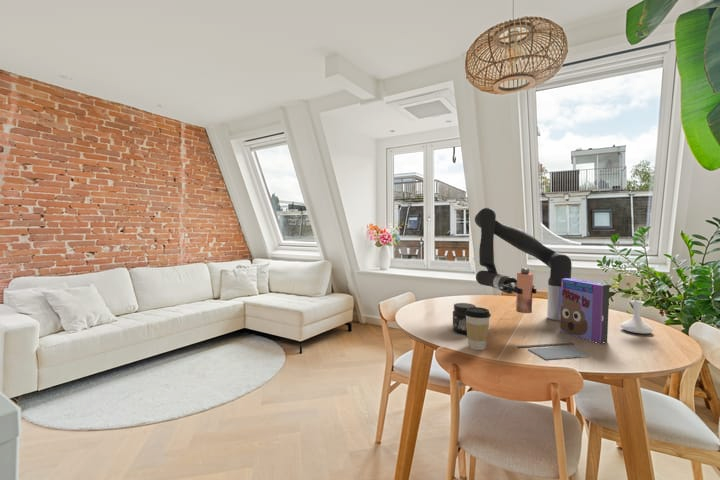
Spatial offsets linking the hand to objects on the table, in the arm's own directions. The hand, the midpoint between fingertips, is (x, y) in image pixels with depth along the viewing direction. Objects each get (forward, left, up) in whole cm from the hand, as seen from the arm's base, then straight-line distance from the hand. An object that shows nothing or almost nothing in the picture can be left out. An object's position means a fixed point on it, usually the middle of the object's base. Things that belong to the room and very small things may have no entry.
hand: (528, 291), depth 143 cm
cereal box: (-27, -1, -21) cm, 34 cm away
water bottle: (0, -3, -9) cm, 9 cm away
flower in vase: (-55, -3, -21) cm, 59 cm away
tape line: (-4, +6, -21) cm, 22 cm away
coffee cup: (+24, +3, -21) cm, 32 cm away
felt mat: (-3, +14, -21) cm, 25 cm away
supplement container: (+20, -16, -21) cm, 33 cm away
